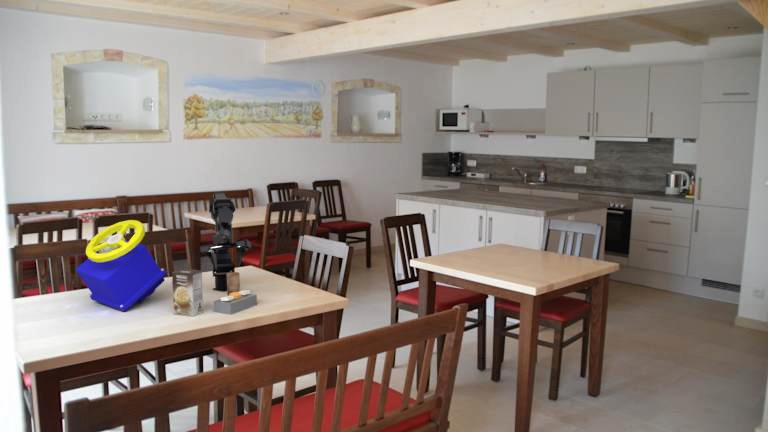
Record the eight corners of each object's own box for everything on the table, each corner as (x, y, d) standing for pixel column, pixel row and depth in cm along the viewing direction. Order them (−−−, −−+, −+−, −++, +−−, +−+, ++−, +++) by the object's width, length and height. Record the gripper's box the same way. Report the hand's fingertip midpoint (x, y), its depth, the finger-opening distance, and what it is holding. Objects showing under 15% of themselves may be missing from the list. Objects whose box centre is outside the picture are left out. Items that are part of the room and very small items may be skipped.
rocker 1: (220, 300, 237) (220, 297, 237) (226, 298, 240) (226, 295, 239) (228, 300, 235) (227, 297, 235) (234, 298, 238) (233, 295, 238)
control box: (148, 269, 268) (113, 214, 251) (188, 282, 253) (154, 224, 236) (100, 312, 253) (59, 255, 236) (140, 328, 238) (99, 269, 221)
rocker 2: (237, 295, 245) (236, 292, 245) (242, 293, 248) (242, 290, 248) (244, 295, 243) (244, 292, 243) (250, 293, 246) (249, 290, 246)
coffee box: (172, 314, 234) (170, 271, 231) (183, 309, 240) (181, 268, 237) (193, 317, 231) (192, 273, 228) (204, 312, 237) (202, 270, 234)
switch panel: (214, 311, 237) (213, 301, 237) (240, 302, 250) (240, 292, 250) (230, 314, 234) (230, 304, 233) (256, 304, 247) (256, 294, 246)
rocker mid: (228, 296, 241) (229, 293, 241) (234, 294, 244) (234, 291, 243) (236, 299, 239) (236, 296, 239) (241, 297, 242) (242, 294, 242)
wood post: (224, 298, 256) (224, 274, 255) (233, 295, 260) (232, 271, 259) (234, 299, 254) (233, 275, 252) (242, 297, 258) (242, 272, 257)
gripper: (193, 228, 243) (195, 268, 239) (240, 221, 241) (243, 261, 237) (204, 234, 254) (207, 273, 250) (250, 227, 252) (252, 266, 248)
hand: (227, 268), depth 246 cm, fingers open, 9 cm apart
